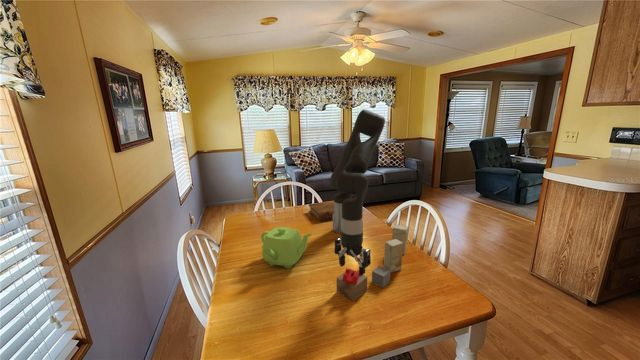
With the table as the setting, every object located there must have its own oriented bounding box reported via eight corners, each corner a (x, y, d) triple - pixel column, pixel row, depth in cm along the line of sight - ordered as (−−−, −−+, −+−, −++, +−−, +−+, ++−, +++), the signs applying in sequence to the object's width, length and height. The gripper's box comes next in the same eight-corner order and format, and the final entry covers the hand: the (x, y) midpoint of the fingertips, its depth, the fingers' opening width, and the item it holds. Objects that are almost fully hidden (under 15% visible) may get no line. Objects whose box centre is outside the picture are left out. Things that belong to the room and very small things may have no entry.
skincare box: (390, 273, 110) (391, 246, 106) (383, 268, 113) (384, 241, 110) (402, 269, 112) (403, 242, 109) (394, 263, 116) (396, 238, 113)
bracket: (356, 284, 94) (356, 277, 94) (343, 282, 96) (343, 274, 95) (360, 274, 100) (360, 267, 99) (347, 271, 102) (347, 264, 101)
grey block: (371, 282, 105) (372, 271, 103) (378, 276, 108) (379, 265, 107) (383, 288, 101) (383, 276, 100) (389, 281, 105) (390, 270, 103)
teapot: (245, 273, 113) (242, 238, 109) (271, 248, 132) (269, 218, 128) (300, 284, 104) (298, 248, 100) (319, 256, 124) (318, 224, 120)
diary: (319, 223, 161) (319, 214, 160) (309, 212, 178) (308, 204, 176) (353, 216, 169) (353, 207, 168) (340, 206, 186) (340, 199, 184)
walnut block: (336, 292, 100) (336, 278, 98) (349, 282, 105) (349, 268, 104) (354, 302, 94) (354, 287, 93) (367, 290, 100) (367, 276, 98)
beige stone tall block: (391, 251, 126) (392, 227, 123) (393, 247, 130) (394, 224, 127) (404, 254, 123) (406, 230, 120) (406, 250, 127) (408, 226, 124)
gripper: (329, 226, 95) (330, 267, 99) (362, 239, 86) (362, 283, 90) (342, 220, 100) (342, 258, 105) (375, 231, 91) (374, 273, 95)
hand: (351, 270), depth 97 cm, fingers open, 8 cm apart
